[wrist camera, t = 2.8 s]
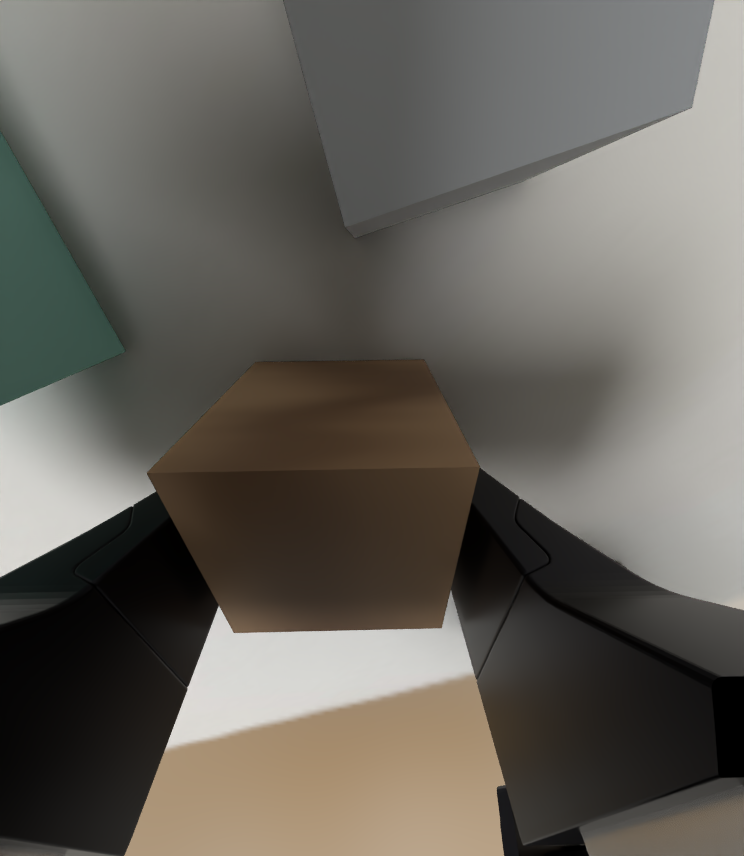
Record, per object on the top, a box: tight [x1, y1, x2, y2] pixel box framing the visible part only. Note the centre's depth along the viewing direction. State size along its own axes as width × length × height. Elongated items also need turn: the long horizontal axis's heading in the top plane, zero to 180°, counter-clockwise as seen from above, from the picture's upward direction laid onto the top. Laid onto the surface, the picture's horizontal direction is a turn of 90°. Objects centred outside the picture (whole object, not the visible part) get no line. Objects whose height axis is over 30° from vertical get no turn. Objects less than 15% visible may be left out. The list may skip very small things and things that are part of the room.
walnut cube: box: [147, 359, 480, 633], centre depth 8 cm, size 5×5×5 cm
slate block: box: [283, 0, 714, 238], centre depth 4 cm, size 4×4×4 cm
